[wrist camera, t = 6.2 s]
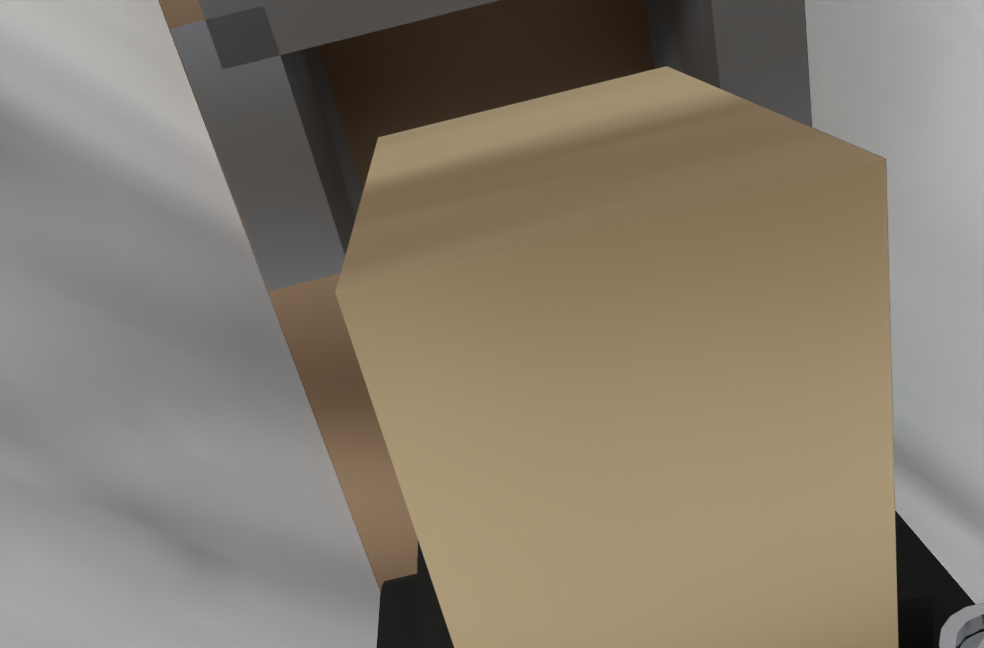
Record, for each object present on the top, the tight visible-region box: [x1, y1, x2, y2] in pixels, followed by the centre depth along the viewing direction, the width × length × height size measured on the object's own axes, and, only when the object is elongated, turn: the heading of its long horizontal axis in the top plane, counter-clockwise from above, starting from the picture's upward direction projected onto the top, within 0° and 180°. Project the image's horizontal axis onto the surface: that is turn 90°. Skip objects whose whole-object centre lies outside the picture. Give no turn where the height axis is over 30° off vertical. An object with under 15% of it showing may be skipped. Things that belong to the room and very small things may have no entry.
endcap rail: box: [158, 0, 812, 592], centre depth 15 cm, size 18×10×4 cm, turn 13°
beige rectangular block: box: [335, 66, 898, 648], centre depth 10 cm, size 12×4×5 cm, turn 13°
